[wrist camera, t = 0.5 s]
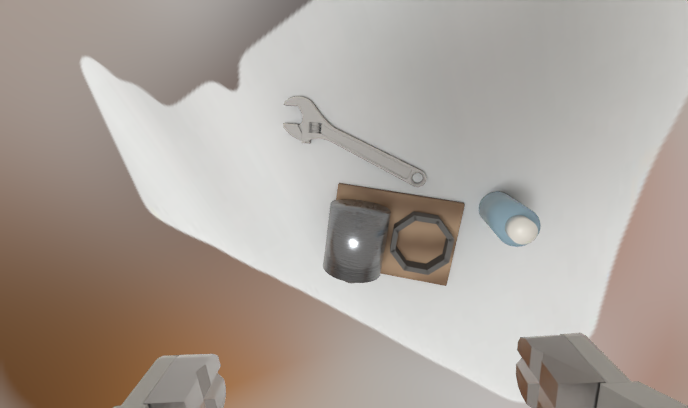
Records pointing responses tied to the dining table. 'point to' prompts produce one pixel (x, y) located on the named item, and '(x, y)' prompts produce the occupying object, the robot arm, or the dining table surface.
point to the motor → (356, 240)
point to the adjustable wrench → (345, 141)
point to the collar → (418, 266)
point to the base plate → (412, 229)
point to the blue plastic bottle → (509, 219)
